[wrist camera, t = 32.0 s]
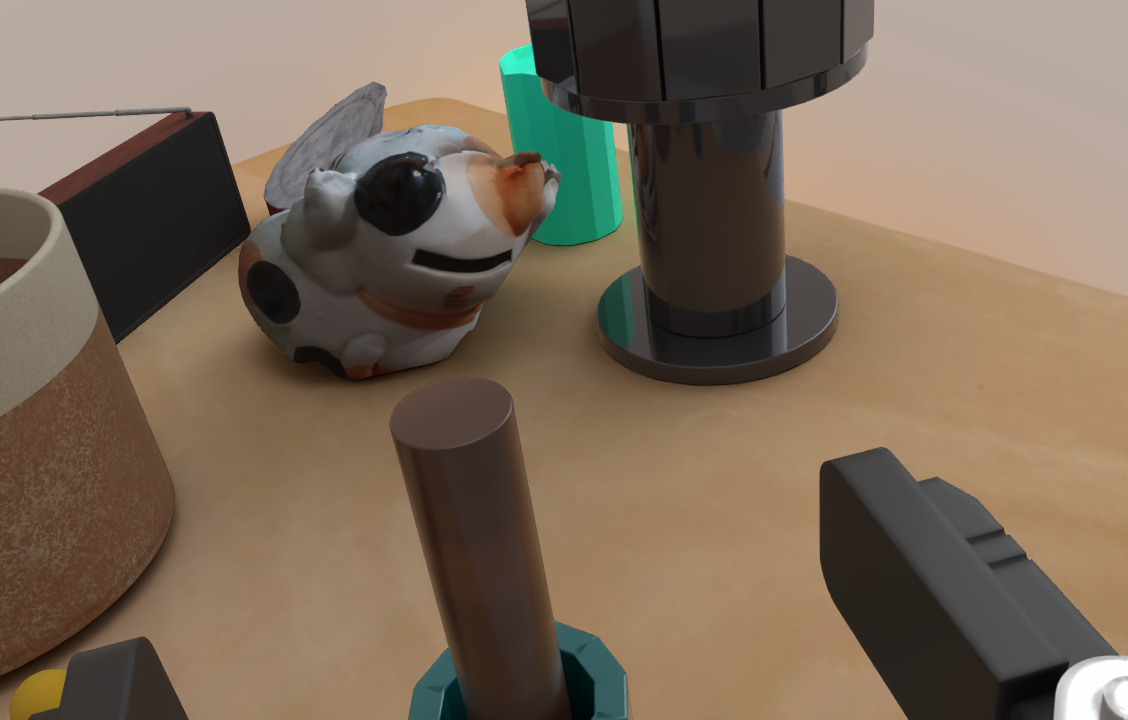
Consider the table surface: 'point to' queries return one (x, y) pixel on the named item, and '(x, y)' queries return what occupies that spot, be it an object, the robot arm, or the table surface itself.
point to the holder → (587, 675)
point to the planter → (65, 444)
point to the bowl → (705, 169)
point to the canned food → (325, 144)
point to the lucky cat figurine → (393, 249)
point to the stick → (482, 547)
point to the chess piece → (38, 694)
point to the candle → (563, 155)
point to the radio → (151, 212)
